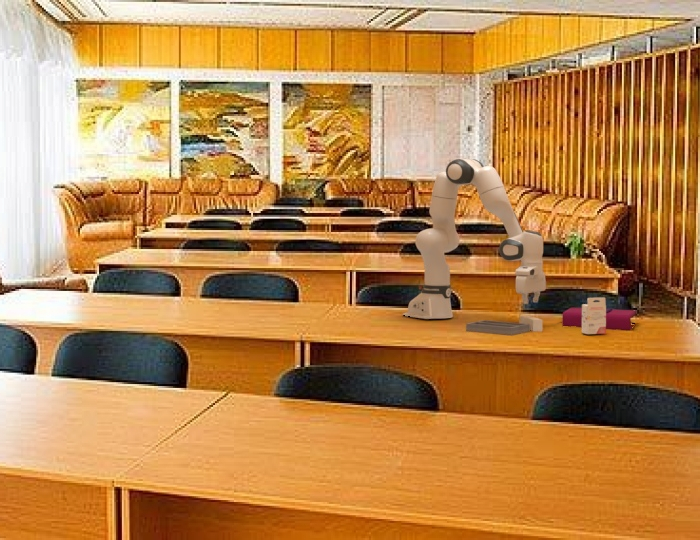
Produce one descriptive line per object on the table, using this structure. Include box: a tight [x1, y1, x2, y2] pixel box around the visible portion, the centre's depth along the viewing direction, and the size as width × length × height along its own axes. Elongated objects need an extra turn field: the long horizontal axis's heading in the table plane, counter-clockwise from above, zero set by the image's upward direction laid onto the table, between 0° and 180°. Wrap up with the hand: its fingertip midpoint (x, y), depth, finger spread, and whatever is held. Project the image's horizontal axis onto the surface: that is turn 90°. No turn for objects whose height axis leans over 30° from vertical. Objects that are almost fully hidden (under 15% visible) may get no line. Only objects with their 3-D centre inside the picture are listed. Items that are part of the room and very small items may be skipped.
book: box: [561, 306, 638, 331], centre depth 452 cm, size 21×28×8 cm
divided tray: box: [465, 319, 530, 336], centre depth 434 cm, size 21×15×3 cm
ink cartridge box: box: [581, 297, 607, 335], centre depth 429 cm, size 9×5×15 cm, turn 105°
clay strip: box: [519, 314, 544, 332], centre depth 443 cm, size 16×4×5 cm, turn 11°
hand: (530, 303), depth 442 cm, fingers open, 7 cm apart
